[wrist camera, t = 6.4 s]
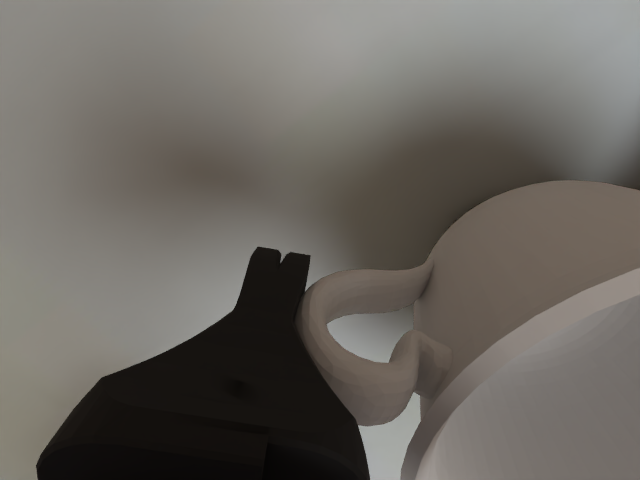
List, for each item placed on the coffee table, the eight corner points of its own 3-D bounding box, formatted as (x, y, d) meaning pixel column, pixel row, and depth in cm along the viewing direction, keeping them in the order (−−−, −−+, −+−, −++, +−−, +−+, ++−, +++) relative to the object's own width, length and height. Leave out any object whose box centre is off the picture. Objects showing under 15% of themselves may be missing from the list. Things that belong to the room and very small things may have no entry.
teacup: (354, 47, 13) (392, 52, 4) (723, 163, 14) (1336, 350, 6) (279, 311, 19) (227, 553, 10) (552, 377, 20) (725, 644, 11)
